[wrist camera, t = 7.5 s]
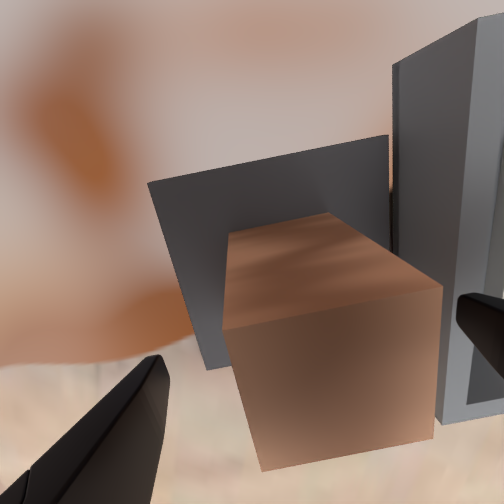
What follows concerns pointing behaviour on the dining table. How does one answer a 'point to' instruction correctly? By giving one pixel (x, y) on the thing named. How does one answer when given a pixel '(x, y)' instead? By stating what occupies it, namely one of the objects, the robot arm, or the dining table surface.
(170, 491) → the dining table surface
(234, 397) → the dining table surface
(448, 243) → the crate
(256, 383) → the block
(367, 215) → the mat
